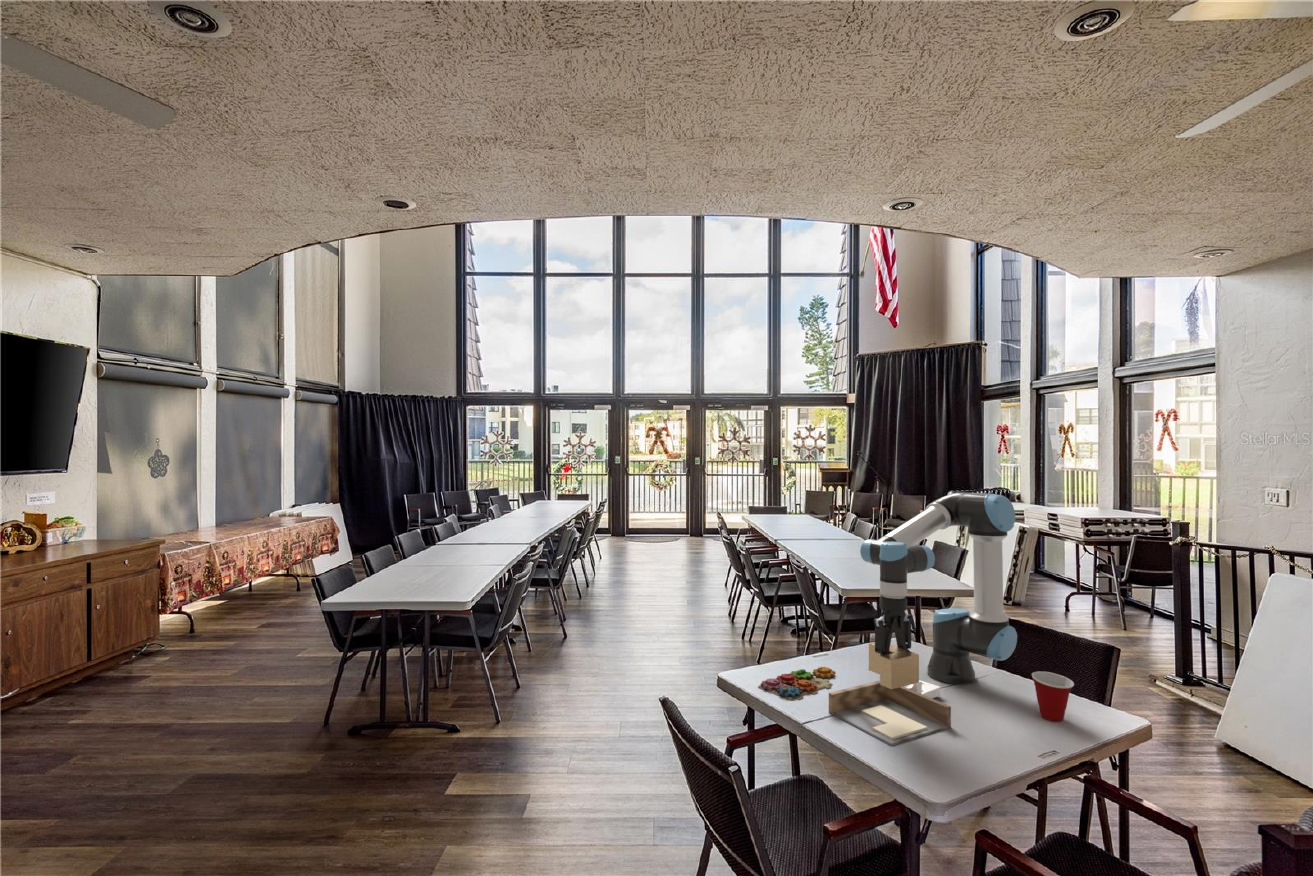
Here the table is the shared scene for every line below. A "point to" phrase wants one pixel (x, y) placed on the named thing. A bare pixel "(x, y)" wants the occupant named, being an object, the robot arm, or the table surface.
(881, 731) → the pad
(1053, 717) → the plastic cup
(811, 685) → the gear puzzle
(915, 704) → the arena
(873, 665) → the wooden l-shaped block
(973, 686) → the table surface
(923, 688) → the bracket
